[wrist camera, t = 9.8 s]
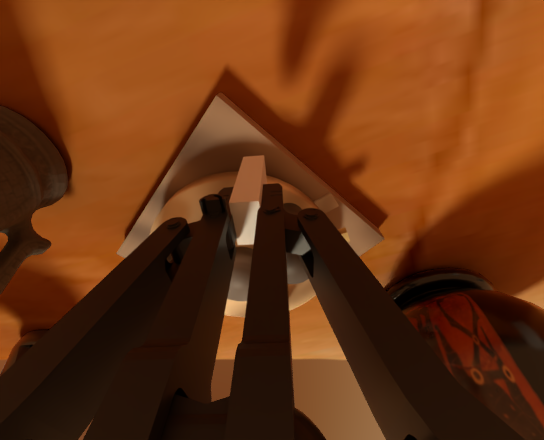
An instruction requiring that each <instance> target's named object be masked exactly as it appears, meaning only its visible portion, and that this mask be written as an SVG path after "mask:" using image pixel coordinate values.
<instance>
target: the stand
mask: <svg viewBox="0 0 544 440" xmlns="http://www.w3.org/2000/svg"><path fill="white" fill-rule="evenodd" d="M260 155H264V159H265V169H266V175H267V176H271V177H274V178H277V179H280V180H282V181H284V182H286V183H289V184H291V185H292V186H294V187H295V188H297V189H299V190H300V191H302V192H303V193H304V194H305V195H307V196H308V197H309V198H310V199H311V200H312V201H313V202H314V203H315V204H316V205H317V206H318V208H319V209H320V210H322V211H323V212H324V213H325V214H326V216H327V217H328V218H329V219H330V221H331V222H332V223H333V224H334V226H335V227H336V228H337V230H338V229H341V228H344V227H345V228H346V231H347V233H348V236H349V239H350V242H348V243H349V245H350V246H351V247H352V249H353V250H354V251H355V252H356V254H357V255H358V256H360V255H362V254H363V253H365V252H366V251H368V250H369V249H371V248H372V247H374V246H375V245H376V244H378V243H379V242H381V241H382V240H384V237H383V235H382V234H381V232H380V230H379V229H378V228H377V227H376V226H375V225H374V224H373V223H371V222H370V221H369V220H368V219H367V218H366V217H365V216H363V215H362V214H361V213H360V212H359V211H358V210H356V209H355V208H354V207H353V206H352V205H351V204H350V203H348V202H347V201H346V200H345V199H344V198H343V197H341V196H340V195H339V194H338V193H337V192H336V191H335V190H333V189H332V188H331V187H330V186H329V185H328V184H326V183H325V182H324V181H323V180H322V179H321V178H320V177H318V176H317V175H316V174H315V173H314V172H313V171H311V170H310V169H309V168H308V167H307V166H306V165H305V164H303V163H302V162H301V161H300V160H299V159H298V158H296V157H295V156H294V155H293V154H292V153H291V152H290V151H288V150H287V149H286V148H285V147H284V146H283V145H281V144H280V143H279V142H278V141H277V140H276V139H275V138H273V137H272V136H271V135H270V134H269V133H268V132H266V131H265V130H264V129H263V128H262V127H261V126H260V125H258V124H257V123H256V122H255V121H254V120H253V119H251V118H250V117H249V116H248V115H247V114H246V113H245V112H243V111H242V110H241V109H240V108H239V107H238V106H236V105H235V104H234V103H233V102H232V101H231V100H230V99H228V98H227V97H226V96H225V95H224V94H223V93H221V92H220V93H219V94H217V95H216V96H215V98H214V100H213V101H212V103H211V104H210V106H209V108H208V109H207V111H206V112H205V114H204V115H203V117H202V119H201V120H200V122H199V123H198V125H197V127H196V128H195V130H194V131H193V133H192V135H191V136H190V138H189V139H188V141H187V142H186V144H185V146H184V147H183V149H182V150H181V152H180V154H179V155H178V157H177V158H176V160H175V161H174V163H173V165H172V166H171V168H170V169H169V171H168V173H167V174H166V176H165V177H164V179H163V181H162V182H161V184H160V185H159V187H158V188H157V190H156V192H155V193H154V195H153V196H152V198H151V200H150V201H149V203H148V204H147V206H146V207H145V209H144V211H143V212H142V214H141V215H140V217H139V219H138V220H137V222H136V223H135V225H134V226H133V228H132V230H131V231H130V233H129V234H128V236H127V238H126V239H125V241H124V242H123V244H122V246H121V247H120V249H119V250H118V252H117V253H116V254H118V255H120V256H122V257H124V258H126V257H127V256H128V255H129V254H130V253H131V252H132V251H134V250H135V249H136V248H137V247H138V246H139V245H140V244H141V243H142V242H143V241H144V240H145V239H146V238H147V237H148V236H149V235H150V231H151V227H152V225H153V223H154V221H155V218H156V217H157V216H158V214H159V213H160V211H161V210H162V208H163V207H164V206H165V204H166V203H167V202H168V200H169V199H170V198H171V197H172V196H173V195H174V194H175V193H176V192H177V191H178V190H180V189H181V188H183V187H184V186H185V185H187V184H189V183H191V182H193V181H195V180H197V179H199V178H202V177H205V176H208V175H212V174H217V173H222V172H234V171H239V169H240V166H241V163H242V160H243V157H247V156H260Z"/></svg>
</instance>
